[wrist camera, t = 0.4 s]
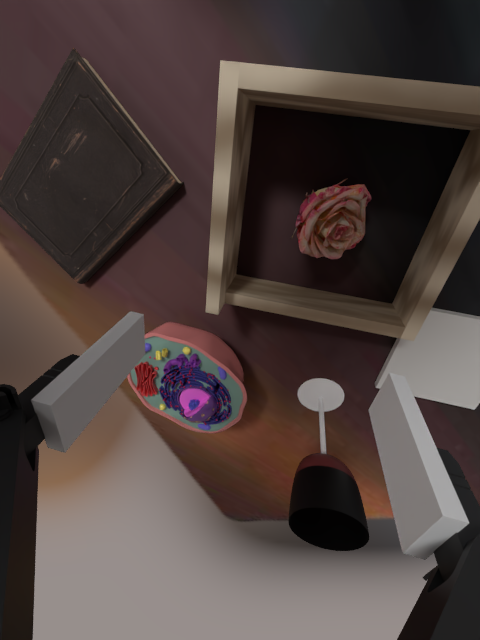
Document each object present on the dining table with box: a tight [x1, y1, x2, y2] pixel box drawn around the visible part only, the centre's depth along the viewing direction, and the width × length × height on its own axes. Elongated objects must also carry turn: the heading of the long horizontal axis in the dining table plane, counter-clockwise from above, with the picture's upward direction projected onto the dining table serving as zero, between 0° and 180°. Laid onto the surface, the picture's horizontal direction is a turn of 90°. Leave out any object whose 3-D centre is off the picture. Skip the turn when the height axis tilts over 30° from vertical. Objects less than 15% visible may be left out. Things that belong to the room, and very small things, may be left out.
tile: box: [375, 308, 480, 410], centre depth 39 cm, size 14×14×1 cm
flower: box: [292, 179, 372, 259], centre depth 31 cm, size 9×9×7 cm
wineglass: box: [289, 378, 369, 551], centre depth 39 cm, size 8×9×20 cm
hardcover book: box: [0, 48, 184, 284], centre depth 37 cm, size 16×23×2 cm
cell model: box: [127, 322, 247, 433], centre depth 43 cm, size 17×20×11 cm
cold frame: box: [206, 60, 480, 341], centre depth 30 cm, size 22×24×9 cm
